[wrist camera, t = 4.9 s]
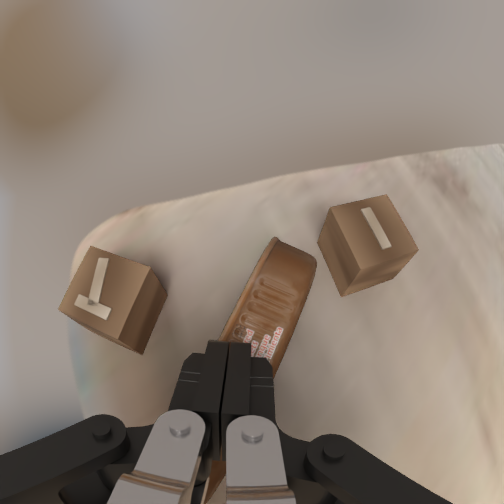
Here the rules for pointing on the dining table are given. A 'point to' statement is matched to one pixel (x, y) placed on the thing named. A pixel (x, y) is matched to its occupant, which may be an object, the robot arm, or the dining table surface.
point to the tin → (268, 313)
